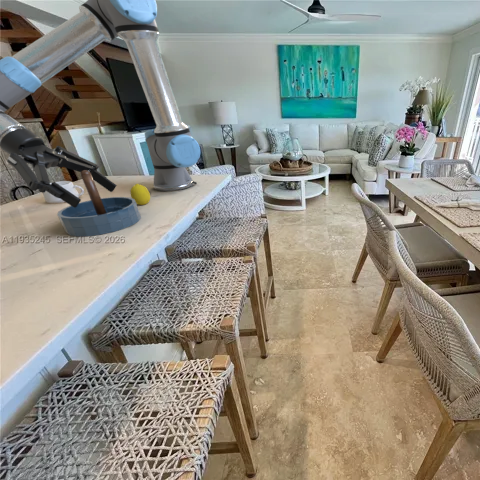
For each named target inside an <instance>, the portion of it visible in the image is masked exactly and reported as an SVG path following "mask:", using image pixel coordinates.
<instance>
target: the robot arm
mask: <svg viewBox="0 0 480 480" xmlns="http://www.w3.org/2000/svg"><path fill="white" fill-rule="evenodd" d="M78 11H79V12H77V14H75V15H74V16H72V17H70V18H69V19H67V20H66V21H64V22H62V23H61V24H60V25H58V26H57V27H55V28H53V29H51V30H50V31H49V32H48V33H46V34H44V35H42V36H41V37H39V38H38V39H36V40H35V41H33V42H32V43H30V44H29V45H27V46H26V47H24V48H22V49H21V50H19V51H18V52H16V53H15V54H13V55H11V56H7V55H6V56H5V57H2V58H1V59H0V149H1V150H2V151H3V152H6V153H7V154H8V158H7V160H6V162H7V163H8V164H9V165H11V166H12V167H13V168H15V171H17V173H18V174H19V175H20V177H21V178H22V180H23V182H24V183H25V184H26V185H27V187H28V188H29V190H31V191H35V192H36V191H38V192H40V193H42V194H43V193H44V192H45V191H47V192H49V193H50V194H52V195H53V196H55V197H57V198H60V199H62V200H63V201H65V202H64V203H66V204H67V205H69V206H72V207H74V208H75V207H77V206H78V204H79V203H80V202H82V199H81V198H80V197H79V198H78V197H76V196H75V195H73V194H72V193H70V192H69V191H67V190H66V189H64V188H63V187H62V186H60V185H59V184H57V183H56V182H57V181H53V182H51V181H50V177H49V174H48V171H47V169H50V168H56V167H57V168H66V169H69V170H71V171H75V172H78V173H81V171H83V170H87V171H89V172H90V173H91V175H92V177H93V180H94V182H96V183H97V184H98V185H100V186H101V187H103V188H104V189H106V190H107V191H109V192H110V193H113V192H114V191H115V189H116V188H117V186H118V185H117V184H116V183H115V182H113V181H111V180H110V179H109V178H107V176H106V175H104V174H102V173H101V172H100V171H98V170H99V168H100V165H99V164H98V163H95V162H93V161H91V160H88V159H86V158H84V157H82V156H80V155H78V154H75V153H73V152H71V151H68V150H67V149H65V148H64V147H62V146H60V145H56V147H55V148H51V147H49V146H47V145H46V144H45V142H44V139H43V138H41V137H40V136H39V135H37V134H35V133H34V132H33V131H31V130H30V129H28V128H27V127H26V126H25V125H23V124H22V123H20V122H19V121H18V120H16V119H15V118H13V117H12V116H10V115H9V114H7V113H6V111H8V110H10V109H11V108H12V107H13V106H14V105H17V104H18V103H19V102H21V101H22V100H25V98H27V97H28V96H30V95H31V94H34V93H35V92H36V91H37V90H38V89H39V88H40V87H41V86H42V85H43V84H44V83H46V82H47V81H49V80H50V79H51V78H53V77H54V76H56V75H57V74H58V73H60V72H61V71H63V70H64V69H65V68H66V67H68V66H70V65H71V64H72V63H74V62H75V61H77V60H78V59H80V58H82V57H83V56H84V55H86V54H87V53H88V52H90V51H91V50H93V49H94V48H95V47H97V46H98V45H100V44H101V43H103V42H104V41H106V42H109V43H110V42H112V41H113V40H115V39H116V38H120V39H121V40H123V41H124V43H125V44H126V47H127V50H128V52H129V55H130V57H131V60H132V63H133V66H134V69H135V71H136V74H137V77H138V79H139V82H140V84H141V88H142V90H143V93H144V95H145V98H146V101H147V103H148V106H149V109H150V112H151V115H152V117H153V120H154V123H155V125H156V126H155V128H154V129H148V130H146V131H145V132H144V138H145V139H144V140H145V142H146V145H147V149H148V152H149V156H150V160H151V163H152V166H153V170H154V173H153V188H154V190H156V191H158V192H159V191H160V192H174V191H180V190H185V189H189V188H191V187H193V186H194V185H197V183H198V182H197V181H194V180H193V178H192V176H191V175H190V173H189V171H188V170H187V168H191V167H194V166H195V164H197V163H198V161H199V159H200V157H201V147H200V144H199V143H198V141H197V140H196V138H194V137H193V136H192V134H191V130H190V127H189V126H188V125H186V123H184V122H183V119H182V116H181V113H180V110H179V107H178V104H177V101H176V98H175V94H174V91H173V88H172V85H171V82H170V79H169V75H168V72H167V70H166V66H165V63H164V60H163V57H162V54H161V51H160V48H159V44H158V39H159V37H160V31H159V28H158V24H157V20H156V18H157V15H158V5H157V2H156V0H86V1H85V2H84V3H82V4H80V5H79V6H78ZM30 165H31V167H30ZM50 183H52V184H50Z"/></svg>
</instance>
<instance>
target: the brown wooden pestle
mask: <svg viewBox="0 0 480 480" xmlns="http://www.w3.org/2000/svg"><path fill="white" fill-rule="evenodd" d="M79 174H80V177H81V180H82V182H83V185H84V187H85V190H86V192H87V194H88V196H89V199H90V200H91V201H92V204H93V206H94V208H95V211H96V213H97V215H100V214H106V210H105V208H104V205H103V203H102V200H101V198H102V197H101V195H100V193H99V190H98V187H97V185H96V183H95V181H94V180H93V177H92V175H91V173H90V172H89V170H88V171H87V170H83V171H81V172H79Z"/></svg>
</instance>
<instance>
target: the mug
mask: <svg viewBox="0 0 480 480" xmlns="http://www.w3.org/2000/svg"><path fill="white" fill-rule="evenodd" d="M55 182H56V183H57V184H59V185H60V186H62V187H63V188H64V189H66V190H67V191H69V192H70V193H72V194H73V195H75V196H76V197H78V198H79V199H80V197H81V196H83V195H84V194H85V190H84V188H83V187H82V186H80V185H78V184H77V185H76V184H75V185H74V183H73V182H72V181H70V180H61V181H55ZM52 183H53V182H50V184H52ZM77 189H79V190H80V191H81V192H80V193H79V192H78V190H77ZM42 194H43V198H44V201H45V202H46V203H48V204H62V203H66V202H65V201H63V200H62V199H60V198H57V197H55V196H53V195H52V194H50V193H49V192H47V191H45V192H44V193H42Z"/></svg>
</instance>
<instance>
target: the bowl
mask: <svg viewBox="0 0 480 480" xmlns="http://www.w3.org/2000/svg"><path fill="white" fill-rule="evenodd" d="M100 198H101V200H102V203H103V205H104V208H105V210H106V214H100V215H97V213H96V211H95V208H94V206H93V204H92V201H91V199H90V200H89V199H88V200H85V201H80V202H79V204H78V206H77V207H75V208H74V207H72V206H71V205H69V206H66V207H64V208H62V209H60V210H59V211H58V212H57V214H56V215H57V217H58V219H59V222H60V223H61V225H62V228H63V229H64V232H65V233H66V234H67V235H69V236H73V237H94V236H101V235H106V234H110V233H115V232H118V231H121V230H124V229H126V228H129V227H132V226H133V225H135V224H137V223H138V222H140V220H141V218H142V217H141V213H140V210H139V207H138V204H137V203H136V201H135V199H132V198H131V197H127V196H111V197H109V196H108V197H100Z"/></svg>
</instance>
